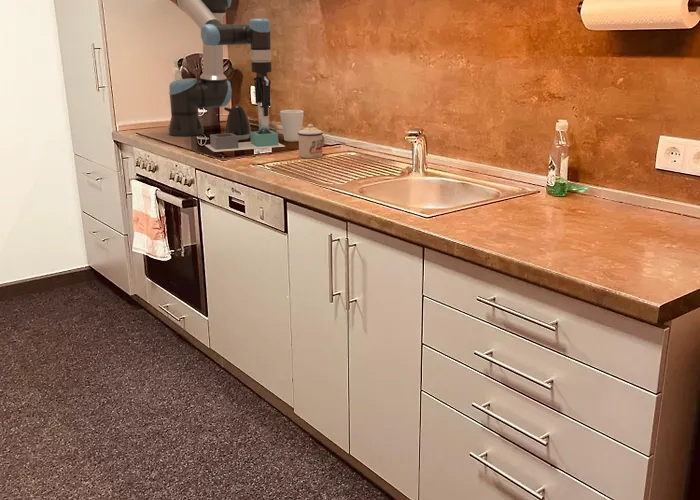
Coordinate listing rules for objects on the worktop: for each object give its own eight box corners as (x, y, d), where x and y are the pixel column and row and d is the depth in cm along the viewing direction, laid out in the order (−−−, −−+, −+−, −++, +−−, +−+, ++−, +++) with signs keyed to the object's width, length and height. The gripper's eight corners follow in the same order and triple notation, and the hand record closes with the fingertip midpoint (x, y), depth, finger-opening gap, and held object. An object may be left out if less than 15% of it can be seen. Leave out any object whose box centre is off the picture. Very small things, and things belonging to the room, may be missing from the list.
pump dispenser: (222, 141, 289) (220, 104, 284) (247, 139, 293) (245, 102, 288) (229, 144, 280) (227, 106, 275) (254, 143, 284) (252, 105, 279)
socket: (250, 143, 274) (250, 131, 273) (271, 141, 278) (271, 130, 276) (257, 146, 267) (256, 135, 266) (278, 145, 270) (278, 133, 269)
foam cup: (282, 146, 277) (281, 113, 273) (279, 142, 286) (278, 110, 282) (306, 145, 279) (305, 112, 275) (302, 141, 288) (301, 109, 284)
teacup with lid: (311, 159, 250) (311, 127, 247) (293, 156, 256) (292, 124, 252) (333, 154, 259) (332, 123, 256) (314, 152, 265) (314, 121, 261)
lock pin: (257, 135, 272) (256, 102, 268) (267, 135, 274) (266, 101, 270) (260, 137, 269) (259, 103, 265) (270, 136, 270) (269, 102, 266)
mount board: (204, 148, 271) (203, 133, 269) (272, 143, 282) (272, 128, 280) (214, 155, 257) (213, 139, 255) (285, 150, 268) (285, 134, 266)
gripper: (245, 60, 268) (248, 121, 276) (258, 62, 254) (261, 127, 261) (263, 60, 271) (266, 120, 279) (277, 62, 257) (280, 125, 264)
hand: (263, 123), depth 270 cm, fingers closed on lock pin, 4 cm apart
